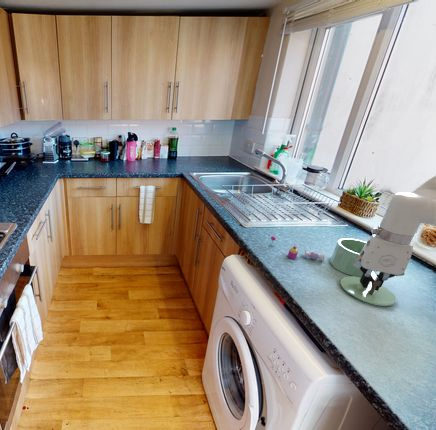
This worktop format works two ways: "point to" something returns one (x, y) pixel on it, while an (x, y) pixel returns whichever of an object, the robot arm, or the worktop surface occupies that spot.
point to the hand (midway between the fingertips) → (368, 286)
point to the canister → (347, 256)
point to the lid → (368, 290)
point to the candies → (313, 255)
